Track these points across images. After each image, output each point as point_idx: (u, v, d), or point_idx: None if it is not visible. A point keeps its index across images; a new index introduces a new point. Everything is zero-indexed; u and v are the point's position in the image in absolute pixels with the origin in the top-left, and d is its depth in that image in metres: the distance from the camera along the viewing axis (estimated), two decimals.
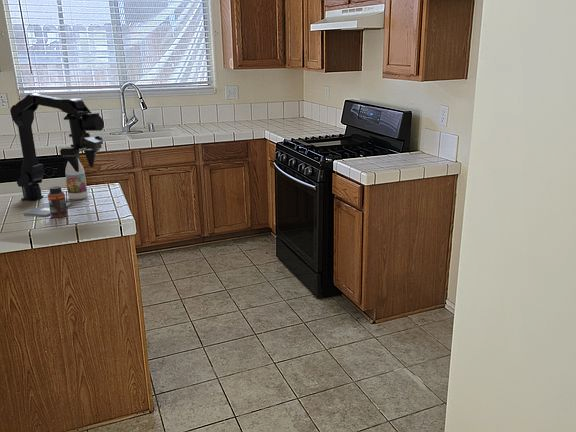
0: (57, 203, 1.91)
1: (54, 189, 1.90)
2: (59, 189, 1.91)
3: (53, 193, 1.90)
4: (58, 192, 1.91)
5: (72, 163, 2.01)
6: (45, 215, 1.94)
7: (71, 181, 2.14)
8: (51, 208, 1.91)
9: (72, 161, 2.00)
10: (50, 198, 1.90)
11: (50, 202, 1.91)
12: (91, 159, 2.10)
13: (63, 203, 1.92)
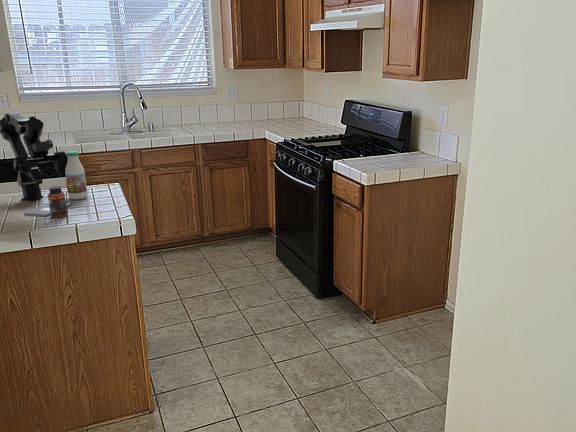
0: (57, 203, 1.91)
1: (54, 189, 1.90)
2: (59, 189, 1.91)
3: (53, 193, 1.90)
4: (58, 192, 1.91)
5: (28, 173, 1.94)
6: (45, 215, 1.94)
7: (71, 181, 2.14)
8: (51, 208, 1.91)
9: (28, 171, 1.95)
10: (50, 198, 1.90)
11: (50, 202, 1.91)
12: (57, 169, 2.00)
13: (63, 203, 1.92)
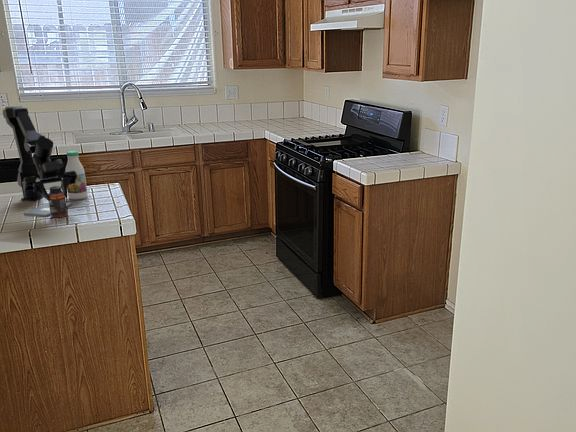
0: (57, 203, 1.91)
1: (54, 189, 1.90)
2: (59, 189, 1.91)
3: (53, 193, 1.90)
4: (58, 192, 1.91)
5: (42, 193, 1.90)
6: (45, 215, 1.94)
7: None
8: (51, 208, 1.91)
9: (41, 191, 1.91)
10: (50, 198, 1.90)
11: (50, 202, 1.91)
12: (63, 189, 1.94)
13: (63, 203, 1.92)
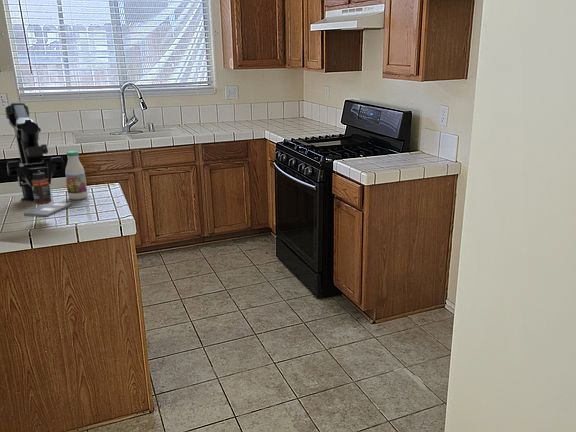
0: (39, 190, 1.85)
1: (36, 175, 1.84)
2: (42, 175, 1.86)
3: (35, 179, 1.85)
4: (41, 178, 1.85)
5: (25, 179, 1.86)
6: (45, 215, 1.94)
7: (71, 181, 2.14)
8: (34, 194, 1.86)
9: (25, 177, 1.86)
10: (32, 184, 1.85)
11: (33, 188, 1.86)
12: (48, 176, 1.89)
13: (46, 190, 1.87)
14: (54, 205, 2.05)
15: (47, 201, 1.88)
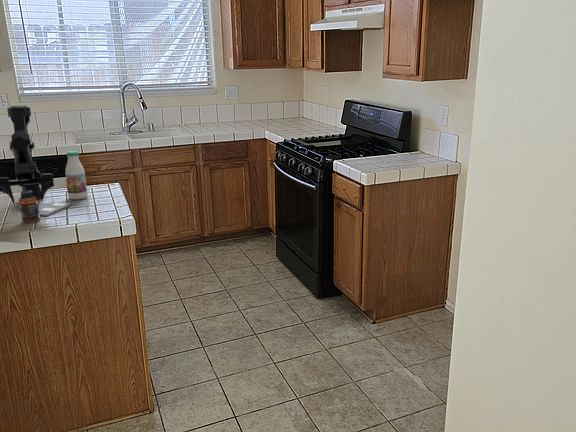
0: (26, 208, 1.84)
1: (24, 193, 1.84)
2: (29, 194, 1.85)
3: (23, 197, 1.84)
4: (28, 197, 1.84)
5: (9, 196, 1.85)
6: (45, 215, 1.94)
7: (71, 181, 2.14)
8: (21, 212, 1.86)
9: (9, 194, 1.85)
10: (20, 202, 1.84)
11: (20, 206, 1.85)
12: (41, 192, 1.88)
13: (32, 208, 1.85)
14: (54, 205, 2.05)
15: (34, 220, 1.87)
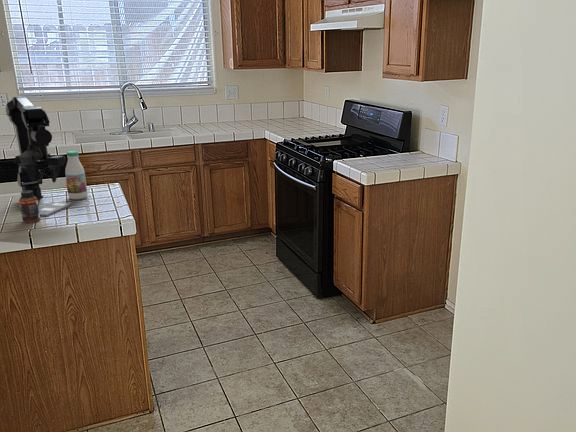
0: (26, 208, 1.84)
1: (24, 193, 1.84)
2: (29, 194, 1.85)
3: (23, 197, 1.84)
4: (28, 197, 1.85)
5: None
6: (45, 215, 1.94)
7: (71, 181, 2.14)
8: (21, 212, 1.86)
9: None
10: (20, 202, 1.84)
11: (20, 206, 1.85)
12: None
13: (33, 208, 1.86)
14: (54, 205, 2.05)
15: (34, 220, 1.87)
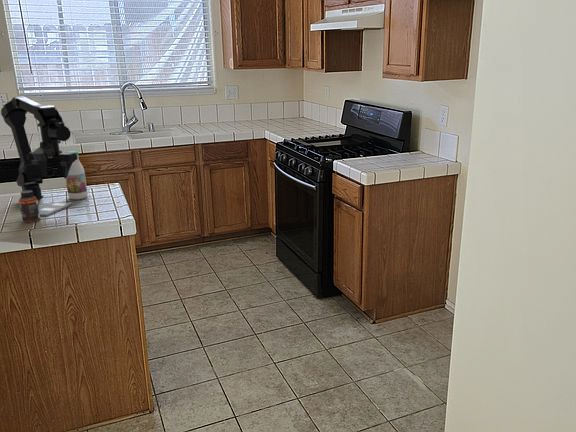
0: (26, 208, 1.84)
1: (24, 193, 1.84)
2: (29, 194, 1.85)
3: (23, 197, 1.84)
4: (28, 197, 1.85)
5: None
6: (45, 215, 1.94)
7: (71, 181, 2.14)
8: (21, 212, 1.86)
9: None
10: (20, 202, 1.84)
11: (20, 206, 1.85)
12: None
13: (33, 208, 1.86)
14: (54, 205, 2.05)
15: (34, 220, 1.87)
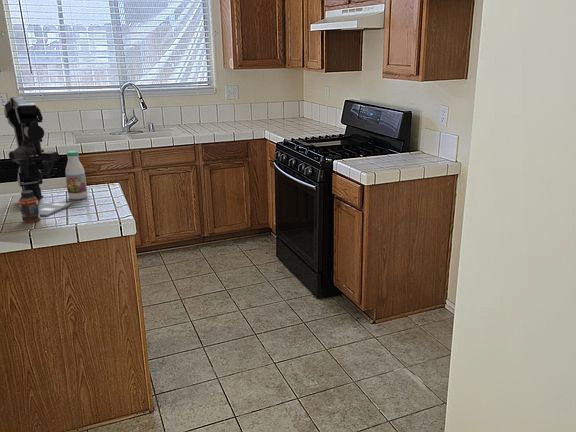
0: (26, 208, 1.84)
1: (24, 193, 1.84)
2: (29, 194, 1.85)
3: (23, 197, 1.84)
4: (28, 197, 1.85)
5: None
6: (45, 215, 1.94)
7: (71, 181, 2.14)
8: (21, 212, 1.86)
9: None
10: (20, 202, 1.84)
11: (20, 206, 1.85)
12: None
13: (33, 208, 1.86)
14: (54, 205, 2.05)
15: (34, 220, 1.87)
